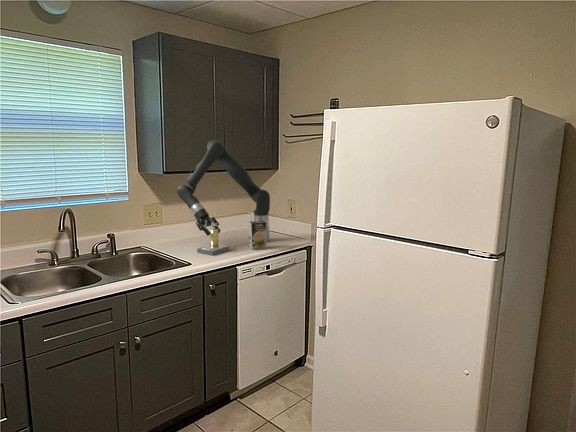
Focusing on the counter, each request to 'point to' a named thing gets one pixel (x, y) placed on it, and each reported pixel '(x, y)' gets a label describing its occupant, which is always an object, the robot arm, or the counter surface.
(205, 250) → the kitchen scale
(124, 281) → the counter surface
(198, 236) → the counter surface
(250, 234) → the coffee box
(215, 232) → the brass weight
